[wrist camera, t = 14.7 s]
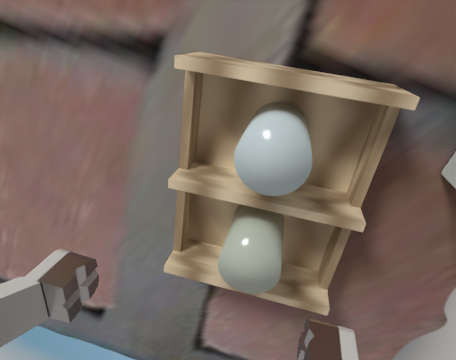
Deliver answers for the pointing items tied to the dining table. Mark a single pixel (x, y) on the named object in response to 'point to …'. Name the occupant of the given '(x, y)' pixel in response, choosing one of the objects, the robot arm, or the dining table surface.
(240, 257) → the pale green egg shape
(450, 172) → the skincare box
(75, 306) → the robot arm
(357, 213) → the rack
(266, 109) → the pale blue-grey rounded dome
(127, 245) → the dining table surface
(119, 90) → the dining table surface
